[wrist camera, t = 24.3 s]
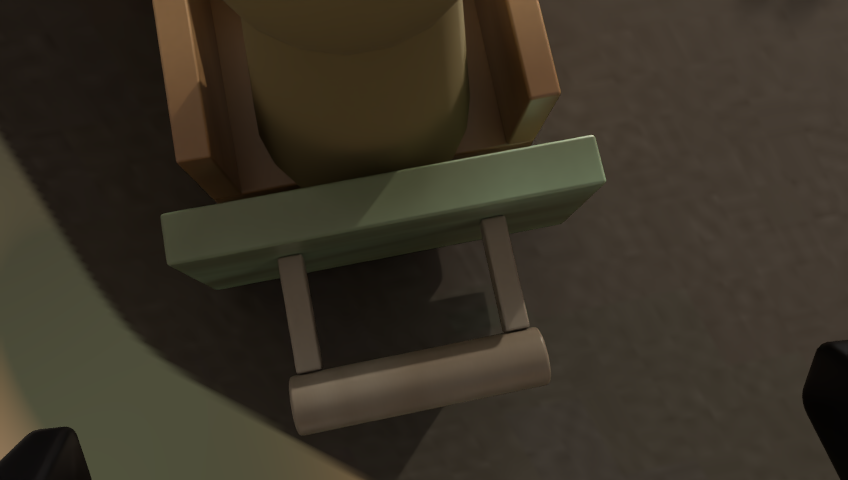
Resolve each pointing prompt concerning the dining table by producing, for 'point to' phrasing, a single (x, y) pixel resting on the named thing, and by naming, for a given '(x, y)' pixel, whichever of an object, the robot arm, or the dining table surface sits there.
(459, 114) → the olive rounded upright piece
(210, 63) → the drawer
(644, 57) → the dining table surface
